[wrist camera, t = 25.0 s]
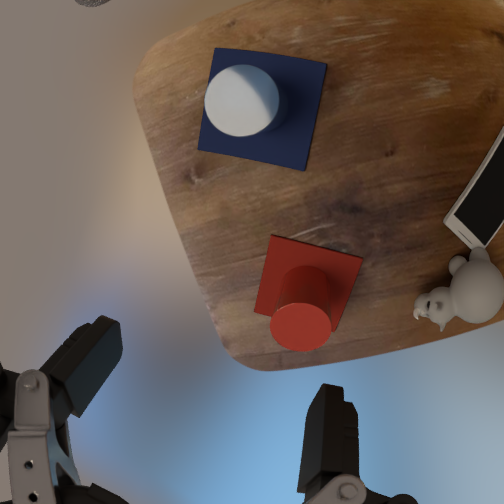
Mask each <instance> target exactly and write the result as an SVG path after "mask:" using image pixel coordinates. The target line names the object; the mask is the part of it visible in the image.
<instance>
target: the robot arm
mask: <svg viewBox="0 0 504 504" xmlns="http://www.w3.org/2000/svg"><path fill="white" fill-rule="evenodd" d="M122 351H123V346H122V338H121V329H120V323H119V322H118V321H116V320H113V319H110V318H108V317H106V316H103V315H101V316H100V317H98V318H97V319H96V321H95V322H94V323H93V324H90V323H86V324H84V325H82V326H80V327H78V328H77V329H76V330H75V331H74V332H73V333H72V334H71V335H70V336H69V338H68V339H66V340H65V341H64V343H63V345H61V346H60V347H59V348H58V349H57V350H56V351H55V352H54V353H53V355H52V356H51V357H50V358H49V359H48V360H47V361H46V362H45V364H44V365H43V366H42V367H41V368H40V369H39V370H27V371H25V372H23V373H22V374H19V373H15V372H12V371H9V370H6V369H3V367H2V365H1V363H0V452H1V450H2V449H3V447H4V446H5V444H6V442H7V441H8V462H9V475H10V484H11V493H12V500H9V501H5V502H0V504H129V503H128V502H126V501H125V500H124V499H122V498H121V497H120V496H118V495H115V494H114V493H111V492H110V491H108V490H106V489H104V488H101V487H100V486H98V485H96V484H94V483H92V485H91V486H90V487H88V486H82V485H81V483H80V479H79V475H78V472H77V469H76V467H75V464H74V461H73V456H72V451H71V444H70V437H69V430H68V421H67V418H68V417H69V415H70V414H73V415H75V416H76V417H78V418H80V416H81V415H82V414H83V412H84V411H85V409H86V408H87V406H88V404H89V403H90V402H91V401H92V399H93V397H94V396H95V395H96V393H97V392H98V390H99V389H100V388H101V386H102V385H103V383H104V382H105V380H106V379H107V378H108V376H109V375H110V373H111V372H112V371H113V369H114V368H115V366H116V365H117V364H118V362H119V361H120V358H121V356H122ZM358 435H359V433H358V414H357V411H356V409H355V407H354V405H353V403H352V402H345V401H344V390H343V387H340V386H335V385H330V384H322V385H321V387H320V389H319V391H318V393H317V394H316V396H315V398H314V399H313V401H312V403H311V405H310V407H309V409H308V412H307V416H306V422H305V431H304V440H303V450H302V458H301V465H300V473H299V480H298V487H297V492H298V493H305V499H304V502H303V503H302V504H418V503H417V501H416V500H415V499H414V498H413V497H412V496H410V495H407V494H399V495H396V496H394V497H392V498H390V497H387V496H384V495H381V494H378V493H376V492H373V491H371V490H369V489H368V488H367V487H365V485H364V483H363V482H362V481H361V479H360V476H359V438H358Z"/></svg>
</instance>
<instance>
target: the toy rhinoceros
mask: <svg viewBox="0 0 504 504" xmlns="http://www.w3.org/2000/svg"><path fill="white" fill-rule="evenodd" d="M448 268H449V271H450V273H451V275H452V276H453V278H452V281H451V284H450V287H449V288H447V287H437V288H435V289H433V290H432V291H431V292H430V293H423V294H420V295H419V296H418V297H417V298H416V300H415V304H414V308H415V310H414V317H415V318H416V319H418V316H419V315H420V316H423V317H428V318H430V319H431V321H432V322H435V323H437V324H439V326H440V331H443V329H444V328H445V325H446V322H448V321H450V320H451V319H452V318H453V317H454V316H459V317H460V318H462V319H463V320H465V321H467V322H470V323H482V322H485V321H487V320H489V319H491V318H492V317H493V316H494V315H495V314H496V313H497V312H498V311H499V309H500V308H501V306H502V303H503V300H504V279H503V276H502V274H501V272H500V271H499V270H498V268H497V267H496V266H495V265H493V264H492V263H491V262H490V258H489V255H488V253H487V251H486V250H485V249H484V248H482V247H475V248H474V249H473V250H472V251H471V253H470V256H469V262H467V260H466V259H465V258H464V257H462V256H455V257H453V258H452V259H451V260H450V262H449V266H448Z"/></svg>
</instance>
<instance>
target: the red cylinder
mask: <svg viewBox="0 0 504 504" xmlns="http://www.w3.org/2000/svg"><path fill="white" fill-rule="evenodd" d="M331 330H332V317H331V285H330V281H329V279H328V277H327V276H326V275H325V274H324V273H323V272H322V271H321V270H319V269H317V268H315V267H312V266H298V267H295V268H293V269H291V270H289V271H288V272H287V273H286V274H285V275H284V276H283V278H282V280H281V283H280V287H279V291H278V295H277V299H276V302H275V306H274V310H273V314H272V317H271V321H270V331H271V334H272V336H273V337H274V339H275V340H276V341H277V342H278V343H279V344H280V345H282V346H283V347H285V348H287V349H290V350H293V351H310V350H314V349H316V348H318V347H320V346H322V345H323V344H324V343H325V342H326V341H327V340H328V338H329V336H330V334H331Z"/></svg>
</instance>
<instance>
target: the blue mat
mask: <svg viewBox="0 0 504 504" xmlns="http://www.w3.org/2000/svg"><path fill="white" fill-rule="evenodd" d="M242 64H243V65H251V66H255V67H258V68H260V69H262V70H263V71H265V72H266V73H267V74H268V75H270V76H271V77H272V78H273V79H274V80H275V81H276V82H277V83H278V84H279V85H280V86H281V87H282V88H283V90H284V91H285V93H286V95H287V98H288V102H289V109H288V113H287V116H286V118H285V120H284V122H283V123H282V124H281V125H280V126H279V127H278V128H276V129H275V130H273V131H271V132H268V133H264V134H259V135H254V136H249V137H233V136H229V135H227V134H224V133H222V132H221V131H219V130H218V129H217V128H216V127H214V126H213V124H212V123H211V122H210V120H209V119H208V117H207V114H206V111H205V106H204V110H203V116H202V123H201V129H200V136H199V143H198V150H202V151H208V152H214V153H219V154H225V155H230V156H235V157H241V158H246V159H251V160H255V161H260V162H265V163H270V164H274V165H279V166H283V167H287V168H292V169H296V170H300V171H304V170H305V166H306V161H307V157H308V152H309V147H310V143H311V138H312V134H313V129H314V124H315V119H316V115H317V110H318V105H319V100H320V95H321V90H322V85H323V80H324V75H325V70H326V65H327V64H325V63H320V62H316V61H311V60H306V59H301V58H295V57H290V56H284V55H277V54H271V53H263V52H255V51H247V50H237V49H225V48H215V50H214V55H213V60H212V65H211V71H210V76H209V81H208V85H209V83H210V81H211V80H212V79H213V78H214V77H215V75H217V74H218V73H219V72H220V71H222V70H223V69H226V68H228V67H230V66H234V65H242Z"/></svg>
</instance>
